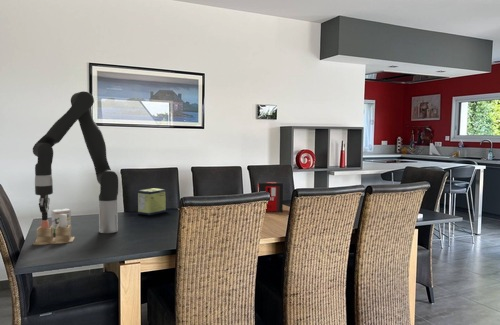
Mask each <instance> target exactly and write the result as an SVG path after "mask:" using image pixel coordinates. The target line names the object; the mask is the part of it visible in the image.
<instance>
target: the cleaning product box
mask: <svg viewBox="0 0 500 325" xmlns="http://www.w3.org/2000/svg"><path fill="white" fill-rule="evenodd" d="M260 191H266V192H269V193H270V201H269V202H268V204H267V209H266V212H265V213H283V210H284V209H283V202H284V182H282V181H257V193H258V192H260Z"/></svg>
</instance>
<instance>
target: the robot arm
mask: <svg viewBox="0 0 500 325" xmlns="http://www.w3.org/2000/svg"><path fill="white" fill-rule="evenodd" d="M94 103H95V98H94V96H93V95H92V93H90V92H89V91H85V90H84V91H78V92H75V93H74V94H72V96H71V97H70V108H68V109H67V111H66V112H65V113H64V114H63V115H61V117H59V119H57V120H56V121H55V122H54V123H53V124H52V126H51V127H50V128H49V129H48V130H47V132H46V133H45V134H44V135H42V136H41V138H39V140H37V142H36V143H34V145H33V146H32V154H33V155H34V156H36V157H37V162H36V164H35V165H34V174H35V176H34V194H35V195H36V196H40V197H39V199H38V207H39V212H40V213H41V221H44V220H49V219H48V217H49V214H48V212H49V209H50V202H51V198H50V197H49V196H50V195H52V194H53V193H54V192H53V191H54V187H53V185H54V184H53V175H52V174H53V173H52V172H53V171H52V170H53V169H52V164H53V159H54V149H53V147H54V146H55V145H56V144H58V143H60V142H61V140H62V139H63V138H64V137H65V136H66V135H67V133H68V132H69V131H70V130H71V128H72V127H73V125H74V124H76V122H77V121H78V123H79V127H80V130H81V133H82V135H83V136H82V137H83V140H84V143H85V146H86V149H87V151H88V153H89V157H90V158H91V161H92V163H93V167H94V171H95V175H96V180H97V183H98V184H99V185H100V186H99V187H100V188H99V189H100V190H99V192H100V193H99V194H98V230H99V234H100V233H101V234H113V233H117V232H119V231H118V230H119V227H118V226H119V225H118V224H119V222H118V220H119V219H118V215H119V214H118V195H119V177H118V174H117V173H116V172H115V171H114V170H111V167H110V165H109V162H108V159H107V158H108V157H107V146H106V142H105V139H104V136H103V132H102V130H101V129H100V128H99V126H98V124H97V123H96V121H95V119H94V118H93V116H92V114H91V108H92V107H93V106H94Z"/></svg>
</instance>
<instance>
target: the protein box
mask: <svg viewBox="0 0 500 325" xmlns="http://www.w3.org/2000/svg"><path fill="white" fill-rule="evenodd" d="M166 201H167V199H166V189H164V188H158V187H153V188H146V189H140V190H137V206H138V207H137V209H138V210H137V213H138V214H139V215H146V216H153V215H157V214H161V213H166V212H167V211H166ZM138 214H137V215H138Z"/></svg>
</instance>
